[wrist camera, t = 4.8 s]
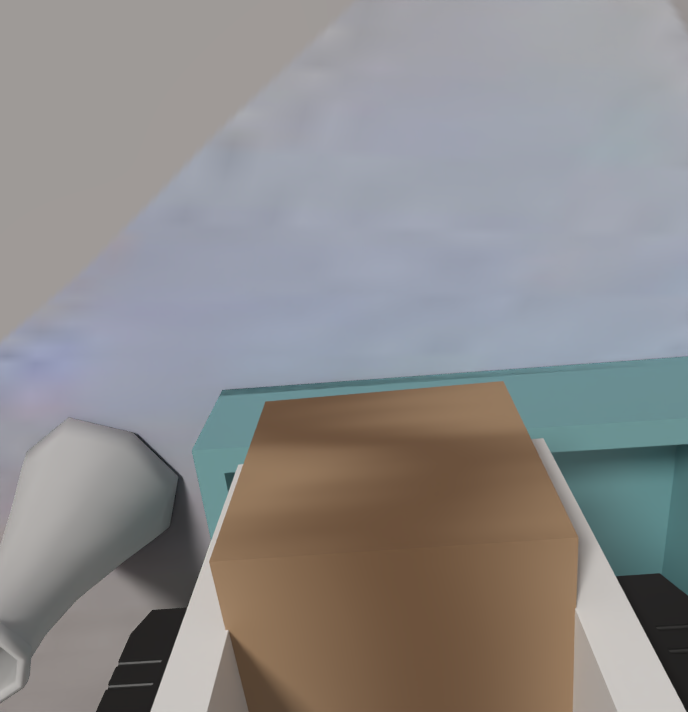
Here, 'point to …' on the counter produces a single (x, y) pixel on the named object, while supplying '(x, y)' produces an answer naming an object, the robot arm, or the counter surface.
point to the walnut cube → (398, 558)
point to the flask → (73, 529)
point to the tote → (562, 435)
